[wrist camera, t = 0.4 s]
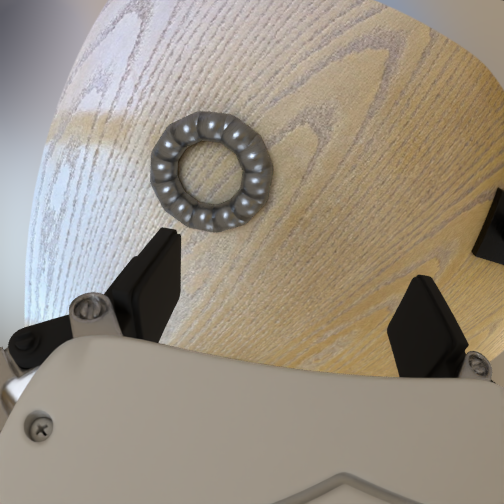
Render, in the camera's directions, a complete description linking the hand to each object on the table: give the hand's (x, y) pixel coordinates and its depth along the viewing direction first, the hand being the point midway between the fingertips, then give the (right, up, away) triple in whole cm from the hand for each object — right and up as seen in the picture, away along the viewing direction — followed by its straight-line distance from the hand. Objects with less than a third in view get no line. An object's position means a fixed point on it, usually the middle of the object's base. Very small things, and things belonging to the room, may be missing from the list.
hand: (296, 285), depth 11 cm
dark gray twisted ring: (-6, +9, +17) cm, 20 cm away
